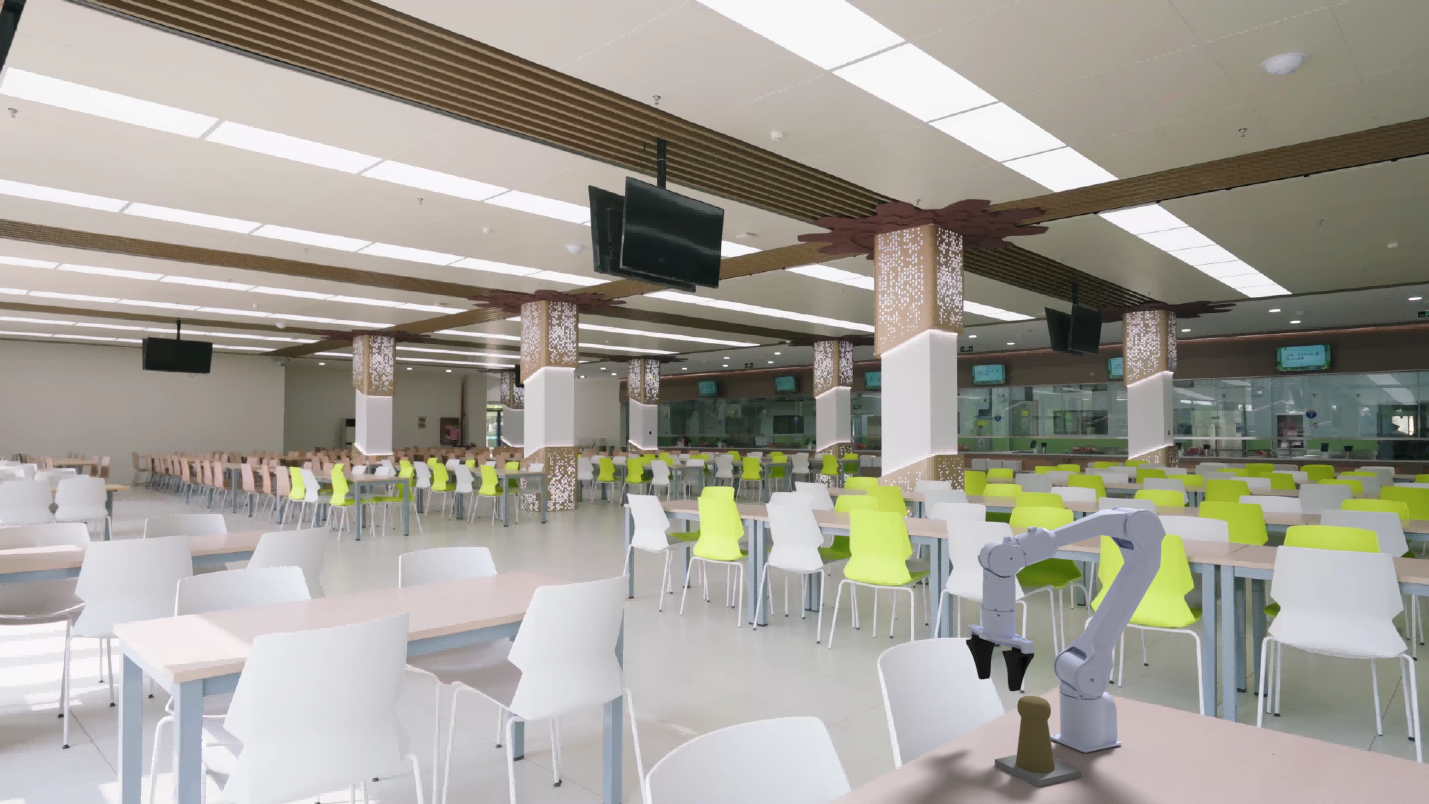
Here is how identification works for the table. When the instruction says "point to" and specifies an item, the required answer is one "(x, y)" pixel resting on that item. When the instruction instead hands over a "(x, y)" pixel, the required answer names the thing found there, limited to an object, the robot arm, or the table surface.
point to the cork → (1034, 736)
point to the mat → (1039, 779)
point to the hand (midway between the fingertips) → (999, 684)
